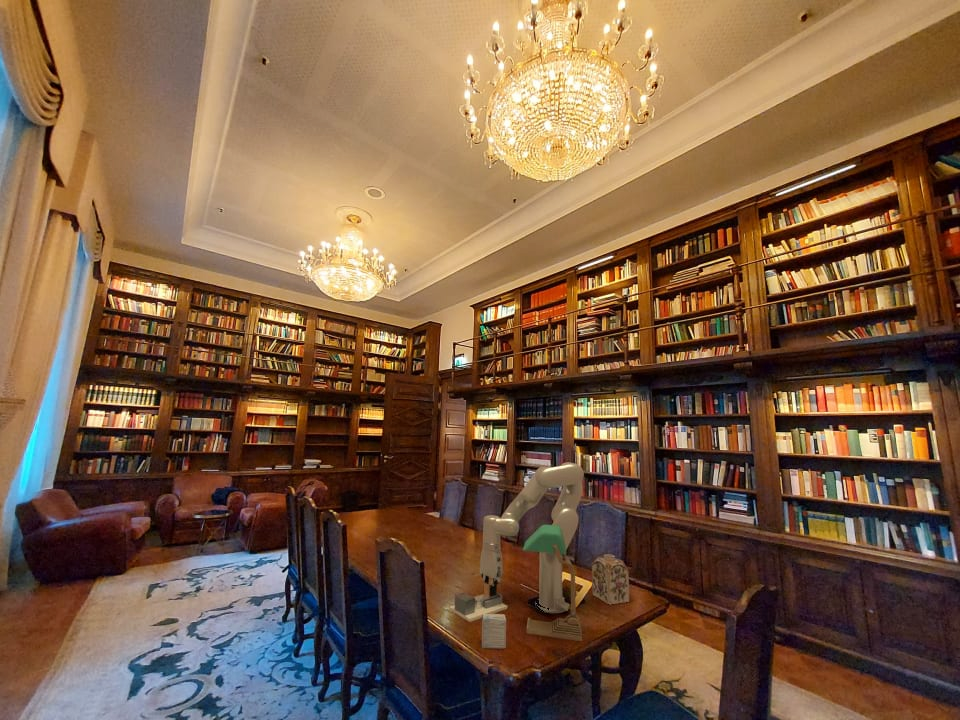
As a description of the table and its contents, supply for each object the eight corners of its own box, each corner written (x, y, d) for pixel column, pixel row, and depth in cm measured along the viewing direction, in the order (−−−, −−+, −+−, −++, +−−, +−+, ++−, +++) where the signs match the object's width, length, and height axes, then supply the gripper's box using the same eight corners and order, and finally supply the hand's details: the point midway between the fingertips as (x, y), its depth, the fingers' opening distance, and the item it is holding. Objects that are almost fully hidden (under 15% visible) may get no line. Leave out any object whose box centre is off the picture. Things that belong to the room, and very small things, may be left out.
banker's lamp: (583, 646, 127) (581, 535, 134) (521, 637, 131) (522, 530, 139) (580, 625, 142) (578, 526, 149) (525, 618, 146) (526, 522, 154)
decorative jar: (609, 605, 161) (607, 560, 165) (591, 595, 171) (590, 552, 175) (630, 602, 165) (628, 558, 169) (612, 592, 176) (611, 550, 180)
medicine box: (504, 642, 128) (505, 613, 130) (505, 649, 123) (506, 619, 125) (481, 641, 128) (482, 613, 129) (481, 648, 123) (482, 619, 125)
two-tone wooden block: (496, 602, 157) (497, 582, 158) (476, 609, 150) (477, 588, 151) (491, 599, 159) (491, 580, 161) (471, 606, 152) (471, 585, 154)
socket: (474, 612, 147) (475, 598, 148) (465, 615, 144) (465, 601, 145) (463, 606, 152) (464, 592, 153) (454, 609, 149) (455, 595, 150)
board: (507, 608, 154) (507, 597, 155) (469, 621, 141) (470, 609, 142) (486, 598, 163) (486, 587, 164) (449, 609, 151) (449, 597, 152)
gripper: (511, 550, 157) (510, 598, 153) (485, 541, 169) (483, 586, 165) (498, 552, 152) (496, 603, 148) (472, 543, 165) (470, 589, 161)
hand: (489, 593), depth 157 cm, fingers closed on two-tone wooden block, 3 cm apart
